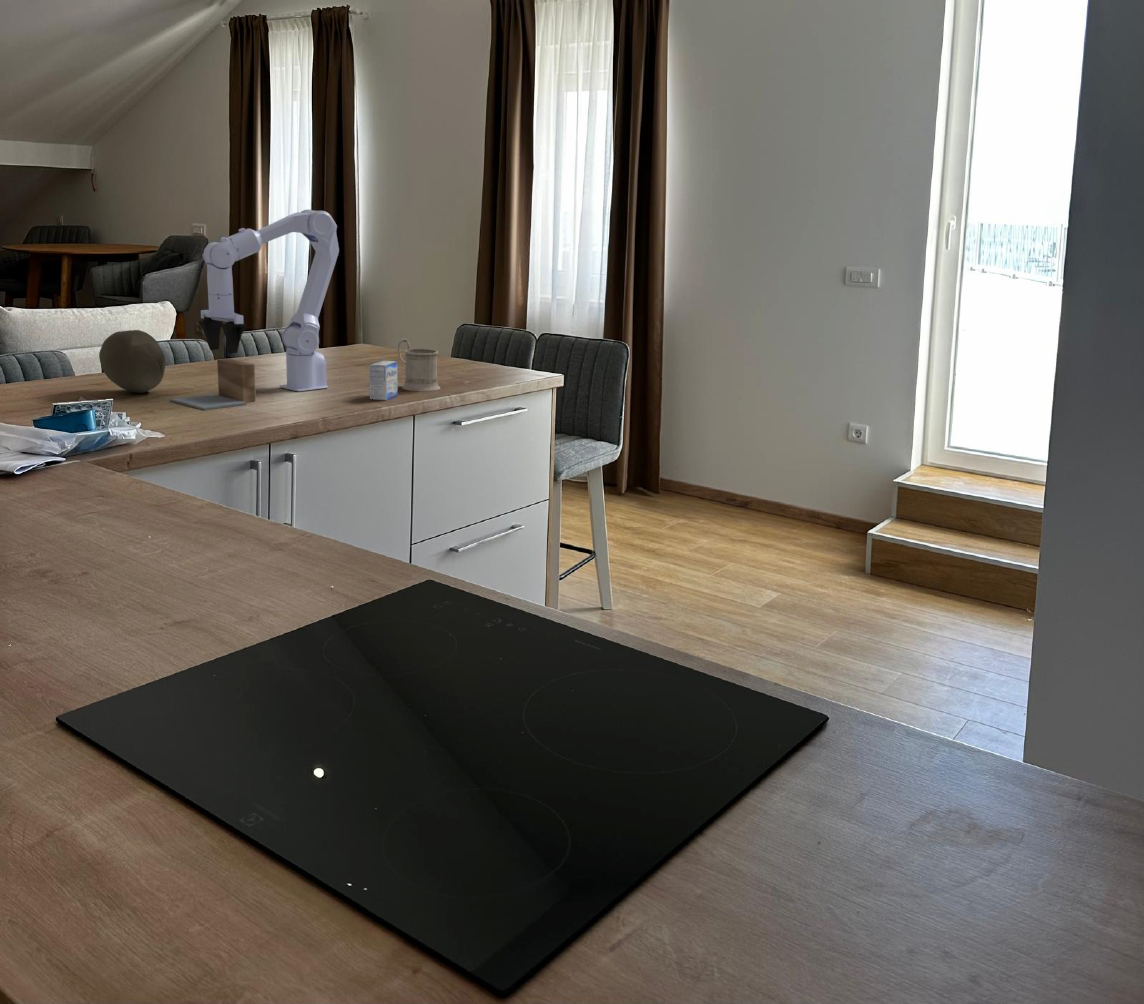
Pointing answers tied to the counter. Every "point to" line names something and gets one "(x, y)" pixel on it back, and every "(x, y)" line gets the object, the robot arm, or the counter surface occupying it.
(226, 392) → the brown wooden block
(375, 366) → the medicine box
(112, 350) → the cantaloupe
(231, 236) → the robot arm
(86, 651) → the counter surface
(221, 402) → the mat
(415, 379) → the mug
